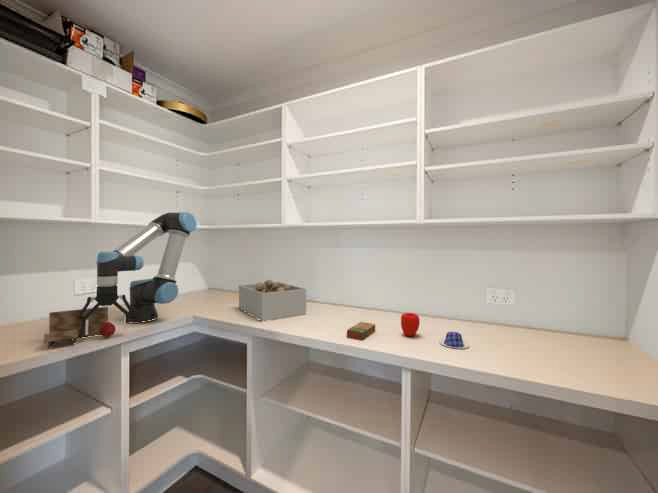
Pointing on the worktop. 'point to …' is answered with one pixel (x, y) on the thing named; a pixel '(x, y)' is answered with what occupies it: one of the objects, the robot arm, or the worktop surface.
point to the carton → (361, 331)
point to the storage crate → (272, 302)
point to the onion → (107, 329)
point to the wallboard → (78, 321)
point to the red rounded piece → (409, 323)
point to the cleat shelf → (61, 336)
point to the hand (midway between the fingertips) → (106, 331)
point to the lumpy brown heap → (269, 285)
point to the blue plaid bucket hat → (454, 340)
